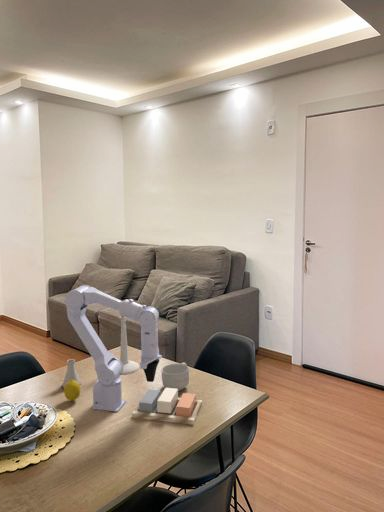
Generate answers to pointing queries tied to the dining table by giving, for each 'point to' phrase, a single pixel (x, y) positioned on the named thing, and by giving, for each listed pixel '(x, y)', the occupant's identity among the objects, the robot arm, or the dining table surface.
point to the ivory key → (167, 400)
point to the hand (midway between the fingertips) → (150, 380)
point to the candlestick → (126, 351)
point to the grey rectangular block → (149, 401)
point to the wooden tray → (168, 417)
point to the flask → (71, 373)
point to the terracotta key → (186, 405)
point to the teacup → (175, 376)
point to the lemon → (72, 390)
